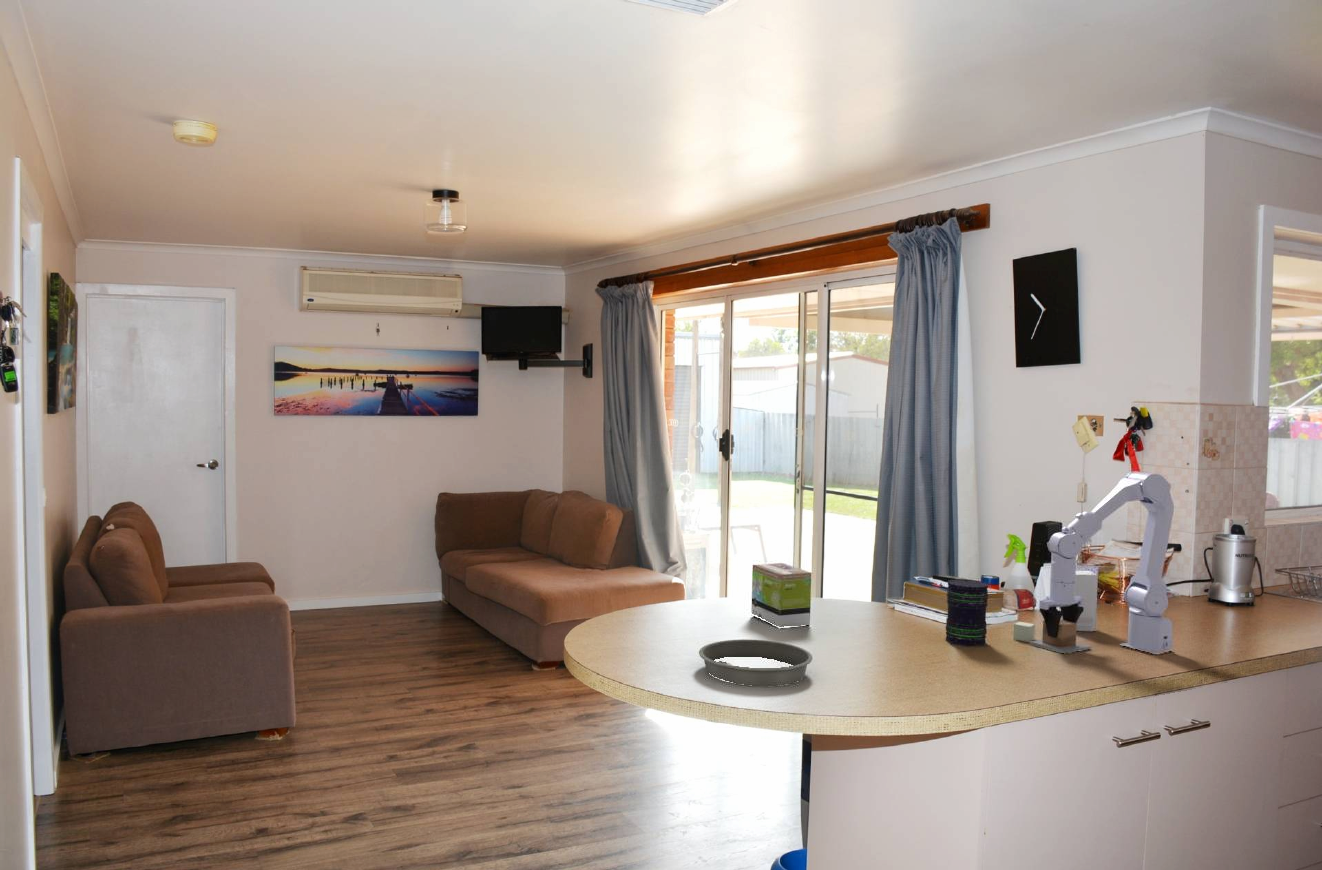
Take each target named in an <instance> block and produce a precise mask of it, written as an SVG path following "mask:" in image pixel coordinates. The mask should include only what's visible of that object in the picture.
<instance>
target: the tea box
mask: <svg viewBox="0 0 1322 870" xmlns="http://www.w3.org/2000/svg"><path fill="white" fill-rule="evenodd" d="M751 572H752V573H751V574H752V576H751V578H752V579H751V609H750V610H751V611H750V612H751V613H752V614H754V615H757V616H758V617H761V618H762V619H765V620H766V621H768V622H770V623H772V624H774V625H776V626H779V627H784V626H801V625H810V626H811V600H812V572H811V571H807V570H804V569H802V568H799V567H796V566H792V565H790V564H786V563H784V562H777V563H776V562H775V563H762V564H752V571H751Z"/></svg>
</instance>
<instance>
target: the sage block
mask: <svg viewBox="0 0 1322 870" xmlns="http://www.w3.org/2000/svg"><path fill="white" fill-rule="evenodd" d="M1035 627H1036V624H1035V623H1029V622H1023V621H1018V622H1015V623H1014V624H1013V638H1012V639H1013V640H1015V641H1019V642H1020V641H1021V642H1028V643H1030V641H1034V640H1035V636H1036V635H1035V634H1036V633H1035V632H1036V631H1035V630H1036V628H1035ZM1033 639H1034V640H1033Z"/></svg>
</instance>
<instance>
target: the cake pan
mask: <svg viewBox="0 0 1322 870" xmlns="http://www.w3.org/2000/svg"><path fill="white" fill-rule="evenodd" d="M698 656H699V657H700V658H701V659H702V660H703V661H704V666H705V671H706V670H707V671H708V673H710V674H711V675H713V676H714V677H717V678H719V679H723V680H725V681H729V682H733V683H736V684H735V685H737V684H744V685H752V686H751V687H755V686H775V687H781V686H780V685H784V686H786V685H785V684H790V685H793V684H792V683H794V684H796V683H795V682H797V681H799V682H801V681H802V680H803V679H804V678H805V675H806V672H807V667H808V665H809V664H811V662H812V661H813V655H812V654H811V652H809V651H808V650H806V649H804V648H802V647H800V646H797V645H794V644H791V643H785V642H781V641H775V640H765V639H750V638H749V639H730V640H729V639H728V640H721V641H717V642H716V641H715V642H712V643H708V644H706V645H704V646H702V647H701V648H700V649H699V650H698ZM724 657H762V658H767V659H774V660H777V661H780V662H785V663H788V664H791V665H793V666H789V667H781V668H749V667H739V666H733V665H731V664H727V663H723V662H716V661H714V660H715V659H720V658H724ZM707 671H706V672H707ZM708 673H707V674H708ZM801 679H802V680H801ZM800 680H801V681H800ZM797 683H798V682H797ZM744 685H743V686H744ZM778 685H779V686H778Z"/></svg>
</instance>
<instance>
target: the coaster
mask: <svg viewBox="0 0 1322 870" xmlns="http://www.w3.org/2000/svg"><path fill="white" fill-rule="evenodd" d="M1029 645H1030V646H1033V647H1036V646H1037V647H1038V648H1041V649H1044V648H1045V650H1047V649H1048V651H1051V650H1053V651H1052V652H1055V651H1056V652H1055V653H1059V654H1062V653H1064V654H1063V655H1066V654H1065V653H1069V654H1073V653H1072V652H1075V653H1077V652H1076V651H1079V650H1086V649H1090V648H1092V647H1091V646H1089V645H1087V644H1081V643H1078V642H1076V645H1074V646H1068V647H1062V648H1061V647H1058V646H1054V645H1050V644H1047V643H1043V642H1042V639H1037V640H1032V641H1030V642H1029Z"/></svg>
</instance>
